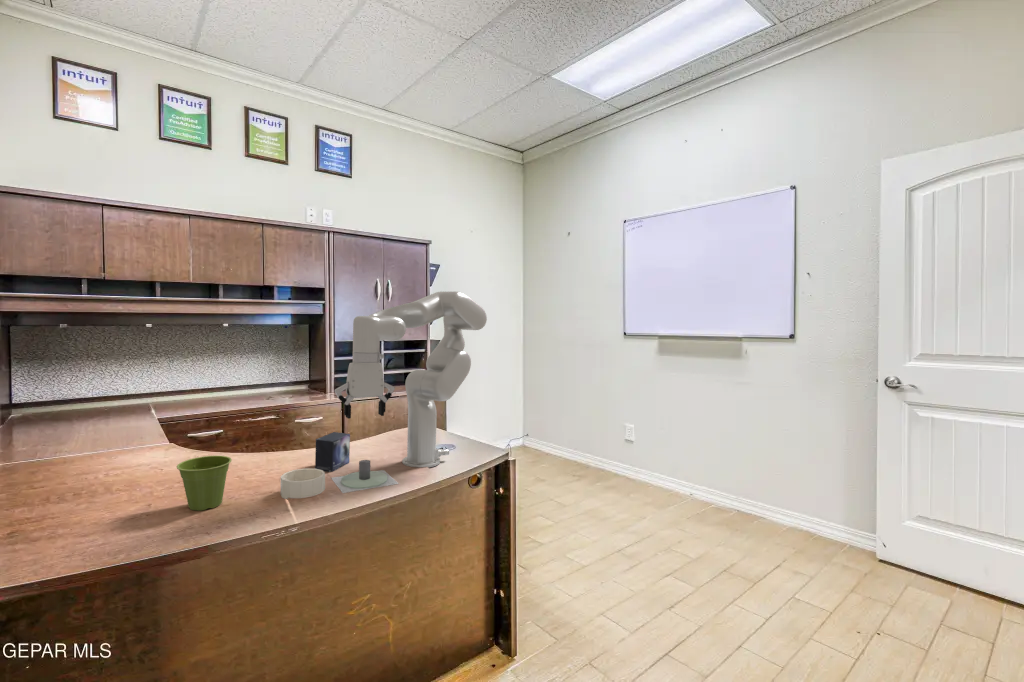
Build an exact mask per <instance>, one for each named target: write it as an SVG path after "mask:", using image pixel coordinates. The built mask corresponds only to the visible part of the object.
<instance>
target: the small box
mask: <svg viewBox="0 0 1024 682" xmlns="http://www.w3.org/2000/svg"><path fill="white" fill-rule="evenodd" d="M350 445H351V434H350V433H345V432H344V433H343V432H339V431H337V432H336V431H333V432H331V433H328V434H325V435H323V436H320V437H318V438H316V439H315V452H314V453H315V457H314V458H315V461H314V469H319V470H323V471H324V473H326V472H327V473H333V472H335V471H337V470H339V469H341V468H343V467H344V466H346V465H348V464H349V463H350V454H351V453H350V449H351V448H350Z"/></svg>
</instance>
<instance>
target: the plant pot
mask: <svg viewBox="0 0 1024 682" xmlns="http://www.w3.org/2000/svg"><path fill="white" fill-rule="evenodd" d="M232 461H233V459H232V458H231V457H229V456H227V455H226V456H225V455H206V456H205V455H204V456H198V457H193V458H189V459H187V460H184V461H181V462H179V463H177V464H176V469H177V470H178V471H179V474H180V477H181V479H182V482H183V488H184V492H185V497H186V500H187V506H188V508H189V509H190V510H191V511H198V512H199V511H206V510H207V509H215V508H216V507H218V506H220V505H222V503H223V500H224V499H223V497H224V493H225V486H226V481H227V480H226V479H227V474H228V470H229V467H230V464H231V463H232Z"/></svg>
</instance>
